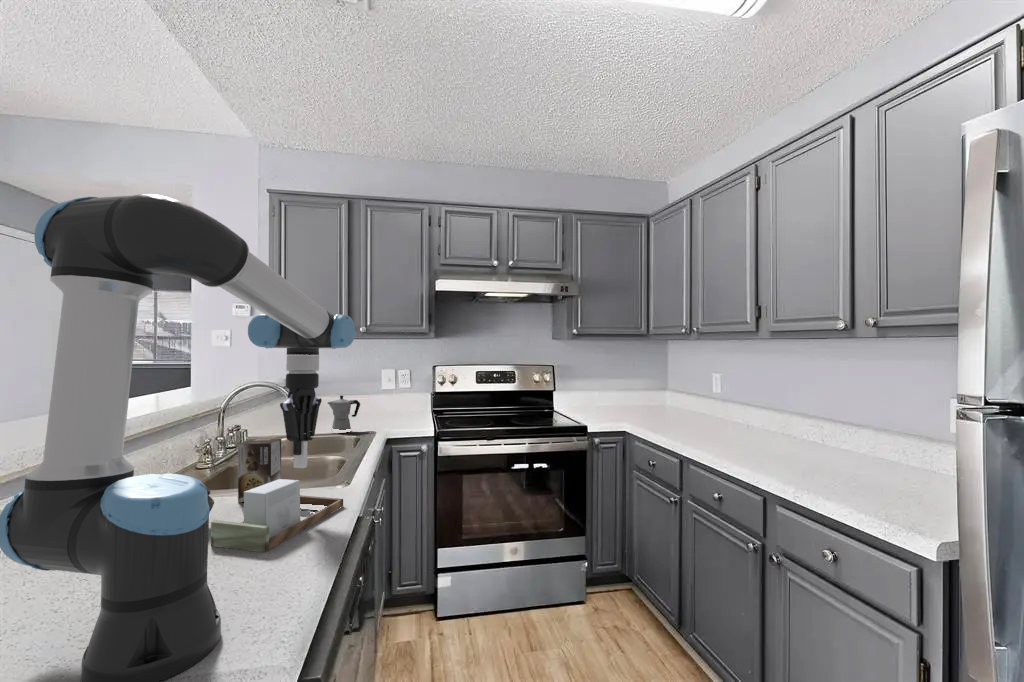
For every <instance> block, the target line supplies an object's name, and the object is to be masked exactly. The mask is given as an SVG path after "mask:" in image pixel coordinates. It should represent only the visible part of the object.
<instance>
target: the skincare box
mask: <svg viewBox="0 0 1024 682" xmlns="http://www.w3.org/2000/svg"><path fill="white" fill-rule="evenodd" d="M300 495H301V480H299V479H285V478H284V479H283V478H281V479H278V480H275V481H273V482H270V483H267V484H264V485H262V486H259V487H256V488H253V489H250V490H248V491H245V492H244V503H243V521H244V523H249V524H258V525H268V526H269V538H271V537H273V536H275V535H276V534H278V533H280V532H282V531H284V530H285V529H287V528H289V527H291V526H293V525H295V524H296V523H298V522H300V521H302V519H301V516H300Z"/></svg>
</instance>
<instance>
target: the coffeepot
mask: <svg viewBox="0 0 1024 682" xmlns="http://www.w3.org/2000/svg"><path fill="white" fill-rule="evenodd" d="M339 397H340V399H336V400H332V401H328V402H327V404H328V405H329V407H330V408H331V410H332V414H333V420H332V426H331V429H332V428H333V429H339V430H346V429H351V430H352V427H351V423H350V421H351V420H350V418H349V415H350V414H351V408H352V407H351V406H352V405H356V406H355V410H354V413H353V414H351V417H352V418H355V417H357V415H358V412H359V409H360V406H361V403H360V401H358V400H357V399H354V400H353V399H351V400H348V399H344V395H339Z"/></svg>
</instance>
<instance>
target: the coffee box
mask: <svg viewBox="0 0 1024 682" xmlns="http://www.w3.org/2000/svg"><path fill="white" fill-rule="evenodd" d="M237 460H238V461H237V503H238V502H244V492H245V491H248V490H250V489H253V488H256V487H259V486H262V485H264V484H267V483H270V482H273V481H275V480H278V479H282V438H250V439H246V440H245V441H242V442H240V443H238V444H237Z"/></svg>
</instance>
